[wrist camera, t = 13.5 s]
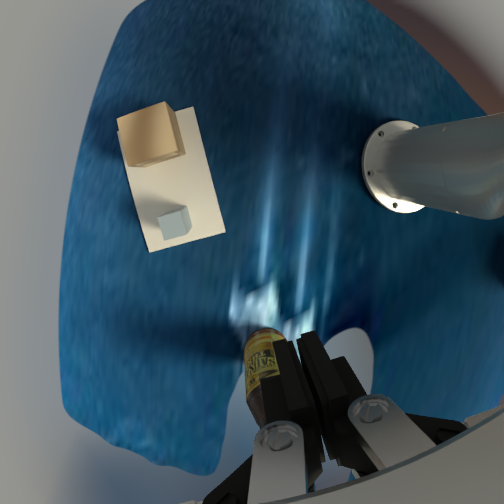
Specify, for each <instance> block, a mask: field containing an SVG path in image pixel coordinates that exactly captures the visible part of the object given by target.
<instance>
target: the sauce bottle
mask: <svg viewBox="0 0 504 504" xmlns="http://www.w3.org/2000/svg"><path fill="white" fill-rule="evenodd" d="M281 339H285V337H284V336H283V334H282V333H280V332H279V331H277V330H274V329H269V328H268V329H262V330H259V331H256V332H255V333H253V334H252V335H251V336H249V338H248V340H247V343H246V346H245V349H244V364H245V385H246V401H247V404H248V407H249V409H250V411H251V413H252V415H253V417H254V419H255V421H256V423H257V424H258V426H260V429H261V428H263V427H264V426H265V425H267V423H266V417H265V410H264V404H263V397H262V391H261V384H260V379H262V378H266V377H270V376H274V375H278V374H280V373H279V369H278V365H277V361H276V357H275V353H274V349H273V345H272V342H273V341H277V340H281ZM286 341H287V340H286Z"/></svg>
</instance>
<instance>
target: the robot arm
mask: <svg viewBox="0 0 504 504" xmlns="http://www.w3.org/2000/svg"><path fill="white" fill-rule="evenodd" d="M378 133H379V134H380V136H379V135H378ZM368 172H369V175H368ZM362 173H363V178H364V181H365V184H366V186H367V188H368V190H369V192H370V194H371V195H372V196H373V198H374V199H375V200H376V201H377V202H378V203H379V204H380V205H382V206H383V207H385V208H387V209H388V210H391V211H394V212H399V213H411V212H415V211H417V210H419V209H421V208H423V207H424V206H427V207H431V208H436V209H440V210H445V211H449V212H453V213H458V214H462V215H466V216H471V217H475V218H479V219H487V220H488V219H496V218H499V217H502V216H504V113H499V114H494V115H489V116H484V117H478V118H471V119H465V120H459V121H453V122H447V123H441V124H436V125H430V126H425V127H418V126H417V125H415V124H413V123H411V122H407V121H391V122H388V123H385V124H382V125H381V126H379V127H378V128H376V129H375V130H374V131H373V132H372V133H371V134H370V136H369V138H368V139H367V141H366V143H365V146H364V149H363V153H362ZM392 204H393V206H392ZM296 341H297V346H298V350H299V355H300V360H301V363H300V360H299V358H298V355H297V352H296V350H295V347H294V344H293V341H288V342H287V341H286V338H285V339H281V340H277V341H273V342H272V345H273V349H274V353H275V357H276V361H277V365H278V369H279V373H280V374H278V375H274V376H270V377H266V378H262V379H260V384H261V391H262V397H263V404H264V410H265V417H266V423H267V425H265V426H264V427H263V428H261V429H260V430H259V431H258V433H257V434H256V437H255V440H254V449H253V454H252V455H251V456H250V457H249V458H248V459H247V460H246V461H245V462H244V463H243V464H242V465H241V466H240V467H239V468H237V469H236V470H235V471H234V472H233V473H232V474H231V475H230V476H229V477H228V478H226V480H224V481H223V482H222V483H221V484H220V485H219V486H217V487H216V488H215V489H214V490H213V491H212V492H210V494H208V495H207V496H206V497H205V499H204V500H203V501H200V502H195V500H192V501H188V502H185V503H180V504H504V404H503V405H501V406H498V407H496V408H493V409H491V410H488V411H485V412H483V413H480V414H477V415H474V416H471V417H468V418H466V419H465V422H463V423H460V422H458V421H454V420H447V419H440V418H433V417H426V416H420V415H413V414H407V413H404V412H403V411H402V410H401V409H400V408H399V407H398V406H397V405H396V404H395V403H394V402H393V401H392V400H391V399H389V398H388V397H387V396H384V395H380V394H370V395H367V394H366V392H365V390H364V389H363V387H362V385H361V383H360V382H359V380H358V379H357V377H356V375H355V374H354V372H353V370H352V368H351V367H350V365H349V363H348V362H347V360H346V358H345V357H344V356H342V357H339V358H335V359H332V360H330V358H329V356H328V354H327V352H326V350H325V349H324V347H323V345H322V343H321V341H320V339H319V337H318V335H317V333H316V331H315V330H314V331H310V332H307V333H303V334H301V338H299V339H296ZM301 365H302V366H301ZM321 435H322V437H321ZM322 438H323V441H324V444H325V447H326V450H327V453H328V456H329V458H330V460H333V459H336V461H337V464H338V466H344V467H348V468H351V469H352V472H353V475H354V476H355V478H356V479H355V480H352V481H349V482H346V483H343V484H339V485H336V486H333V487H329V488H326V489H322V490H318V491H316V490H315V483H314V482H315V480H316V479H317V478H318V477H319V475H320V474H321V473H322V471H323V470H322V464H321V463H323V462H325V455H324V449H323V443H322Z"/></svg>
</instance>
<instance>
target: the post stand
mask: <svg viewBox="0 0 504 504" xmlns="http://www.w3.org/2000/svg"><path fill="white" fill-rule="evenodd" d="M175 113H176V117H177V121H178V125H179V129H180V133H181V137H182V140H183V144H184V148H185V152H186V155H183V156H179V157H176V158H173V159H170V160H166V161H163V162H160V163H157V164H154V165H151V166H148V167H145V168H141V167H128V165H127V161H126V157H125V153H124V149H123V144H122V140H121V136H120V132H119V131H117V134H118V138H119V143H120V147H121V151H122V155H123V160H124V164H125V168H126V172H127V176H128V180H129V184H130V187H131V191H132V195H133V199H134V202H135V206H136V209H137V213H138V216H139V220H140V223H141V227H142V230H143V233H144V237H145V240H146V243H147V246H148V250H149V253H150V252H153V251H157V250H160V249H164V248H168V247H171V246H175V245H179V244H182V243H186V242H190V241H194V240H197V239H201V238H205V237H209V236H212V235H216V234H220V233H224V232H226V231H225V227H224V224H223V220H222V216H221V212H220V209H219V205H218V201H217V197H216V193H215V190H214V186H213V182H212V178H211V174H210V170H209V166H208V163H207V159H206V155H205V151H204V147H203V143H202V139H201V135H200V131H199V127H198V123H197V119H196V115H195V111H194V107H190V108H186V109H183V110H179V111H176V112H175Z"/></svg>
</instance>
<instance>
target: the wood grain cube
mask: <svg viewBox="0 0 504 504" xmlns="http://www.w3.org/2000/svg"><path fill="white" fill-rule="evenodd" d="M117 123H118V127H119V132H120V136H121V140H122V144H123V149H124V153H125V157H126V161H127V165H128V167H141V168H145V167H148V166H151V165H154V164H157V163H160V162H163V161H166V160H170V159H173V158H176V157H179V156H183V155H186V152H185V148H184V144H183V140H182V137H181V133H180V129H179V125H178V121H177V117H176V113H175V112H174V111H173V110H172V109H171V108H170V106H169V105H168V104H167V103H166V102H162V103H159V104H156V105H153V106H150V107H147V108H144V109H141V110H138V111H136V112H133V113H130V114H127V115H125V116H122V117H120V118H117Z"/></svg>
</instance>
